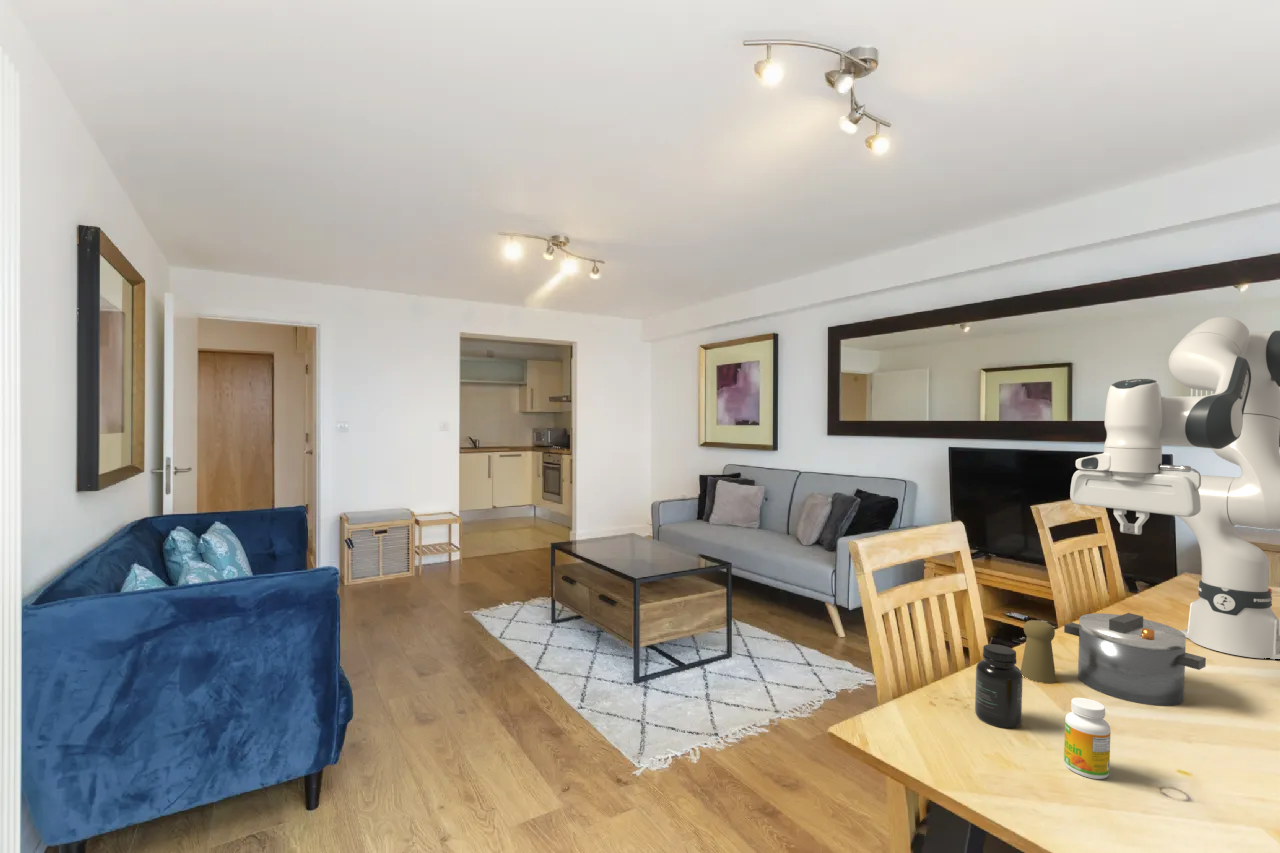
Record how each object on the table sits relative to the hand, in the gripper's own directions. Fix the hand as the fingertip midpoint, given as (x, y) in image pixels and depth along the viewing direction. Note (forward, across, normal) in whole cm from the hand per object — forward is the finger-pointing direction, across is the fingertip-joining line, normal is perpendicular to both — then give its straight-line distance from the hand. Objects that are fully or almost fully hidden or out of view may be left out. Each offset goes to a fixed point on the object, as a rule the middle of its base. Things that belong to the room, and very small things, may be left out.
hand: (1130, 533), depth 121 cm
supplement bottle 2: (+29, -11, +42) cm, 52 cm away
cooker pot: (+29, -1, +2) cm, 29 cm away
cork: (+29, +10, +13) cm, 34 cm away
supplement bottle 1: (+29, +4, +38) cm, 48 cm away
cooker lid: (+19, -1, +2) cm, 19 cm away
